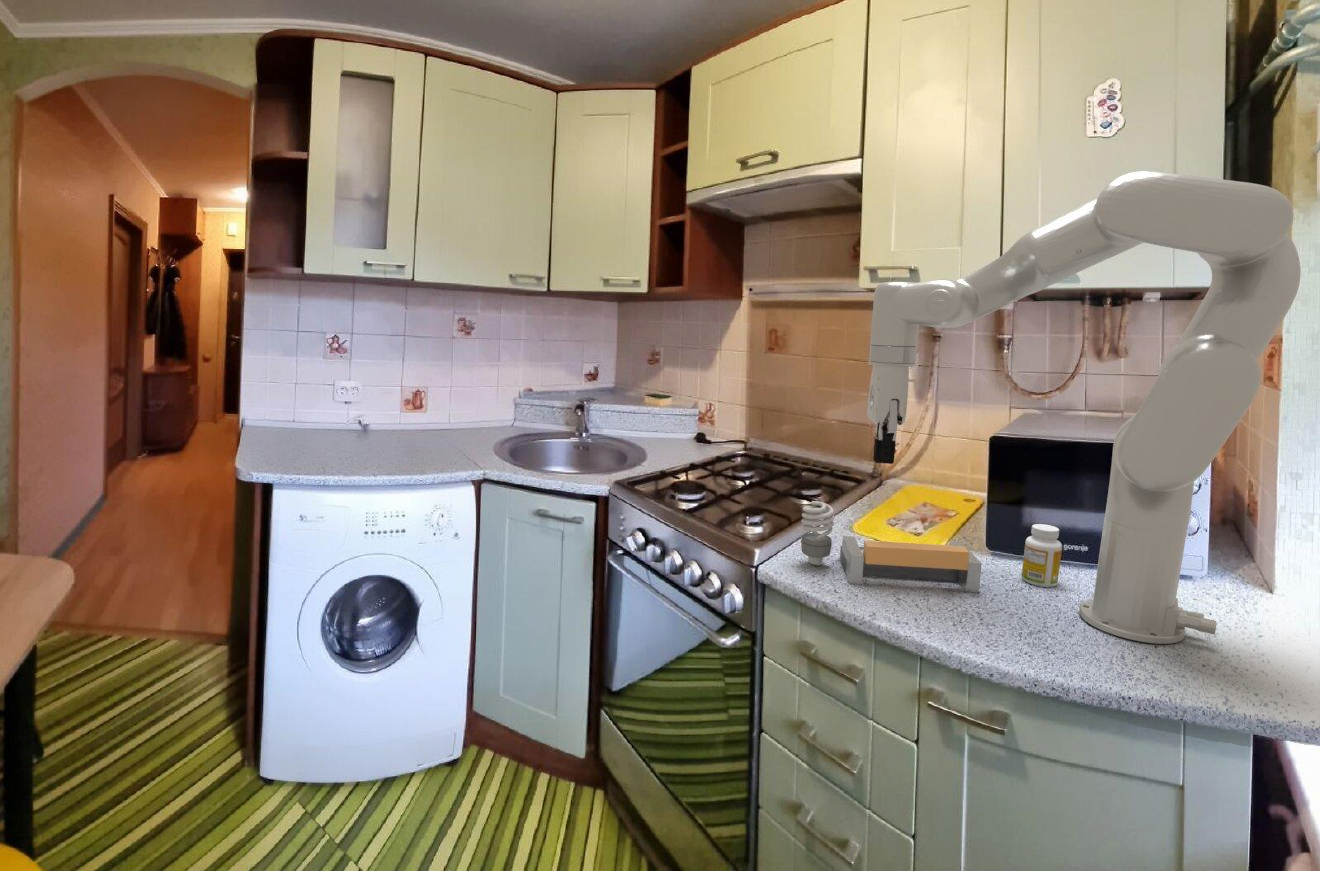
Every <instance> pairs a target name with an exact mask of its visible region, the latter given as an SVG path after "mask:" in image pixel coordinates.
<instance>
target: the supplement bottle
mask: <svg viewBox="0 0 1320 871" xmlns="http://www.w3.org/2000/svg"><path fill="white" fill-rule="evenodd" d="M1030 530H1031V531H1030V533H1031V535H1030V536H1028V537H1027V538H1026V539H1025V544H1024V550H1023V552H1024V553H1023V561H1022V568H1021V579H1022V581H1024V582H1025V583H1027V584H1030V585H1033V586H1036V587H1041V588H1052V587H1055V586H1057V585H1058V582H1059V575H1060V565H1061V560H1062V559H1061V557H1062V551H1063V544H1062V543H1061V541H1059V540H1058V538H1059V535H1060V529H1059V528H1058V527H1057V526H1053V525H1050V524H1044V523H1036V524H1032V526H1031V529H1030Z"/></svg>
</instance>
